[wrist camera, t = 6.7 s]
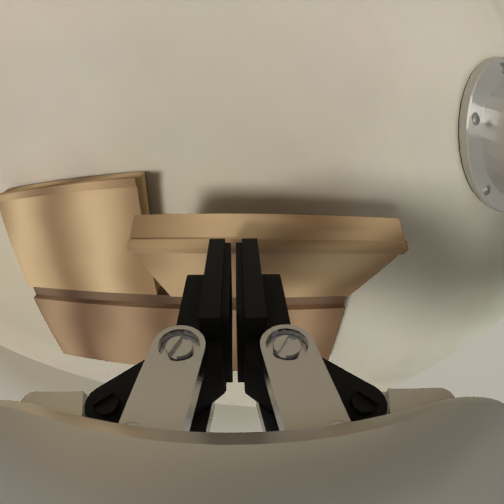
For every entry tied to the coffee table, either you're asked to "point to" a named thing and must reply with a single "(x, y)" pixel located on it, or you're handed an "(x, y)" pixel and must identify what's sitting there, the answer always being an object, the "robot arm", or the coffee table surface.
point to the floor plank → (156, 321)
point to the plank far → (79, 233)
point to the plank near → (271, 248)
